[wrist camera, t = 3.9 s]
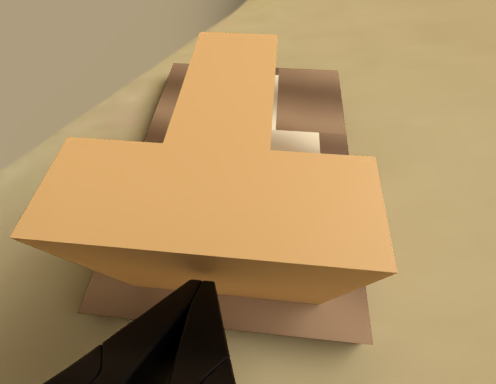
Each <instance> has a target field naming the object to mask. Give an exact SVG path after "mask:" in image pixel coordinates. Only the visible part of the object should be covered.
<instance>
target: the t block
mask: <svg viewBox="0 0 496 384" xmlns="http://www.w3.org/2000/svg"><path fill="white" fill-rule="evenodd" d="M277 39H278V35H270V34H243V33H216V32H200V34H199V37H198V40H197V43H196V46H195V49H194V52H193V55H192V58H191V61H190V64H189V67H188V70H187V73H186V76H185V79H184V82H183V85H182V88H181V91H180V94H179V97H178V100H177V103H176V106H175V109H174V112H173V115H172V118H171V121H170V123H169V126H168V129H167V132H166V135H165V138H164V141H163V143H152V142H136V141H121V140H105V139H90V138H74V137H68V138H67V139H66V141H65V143H64V145H63V146H62V148H61V150H60V151H59V153H58V155H57V157H56V158H55V160H54V162H53V163H52V165H51V167H50V169H49V170H48V172H47V174H46V175H45V177H44V179H43V181H42V182H41V184H40V186H39V188H38V189H37V191H36V193H35V194H34V196H33V198H32V200H31V201H30V203H29V205H28V206H27V208H26V210H25V212H24V213H23V215H22V217H21V218H20V220H19V222H18V224H17V225H16V227H15V229H14V230H13V232H12V234H11V236H10V237H9V238H12V239H14V240H17V241H19V242H22V243H25V244H27V245H30V246H32V247H35V248H37V249H40V250H43V251H45V252H48V253H50V254H53V255H55V256H58V257H61V258H63V259H66V260H68V261H71V262H73V263H76V264H79V265H81V266H84V267H86V268H89V269H92V270H94V271H97V272H99V273H102V274H104V275H107V276H110V277H112V278H115V279H117V280H120V281H122V282H125V283H128V284H130V285H133V286H139V287H149V288H159V289H169V290H176V289H178V288H179V287H180V286H182V285H183V284H184V283H186V282H187V281H189V280H190V279H195V280H201V281H202V282H203V281H204V280H206V281H214V282H215V285H216V290H217V294H219V295H229V296H239V297H249V298H259V299H269V300H279V301H289V302H299V303H309V304H319V305H320V304H322V303H325V302H327V301H330V300H332V299H335V298H337V297H339V296H342V295H344V294H347V293H349V292H352V291H354V290H357V289H359V288H362V287H364V286H366V285H369V284H371V283H374V282H376V281H379V280H381V279H384V278H386V277H389V276H391V275H393V274H396V273H397V267H396V262H395V257H394V252H393V247H392V241H391V236H390V231H389V226H388V221H387V215H386V210H385V205H384V200H383V194H382V189H381V184H380V179H379V174H378V168H377V163H376V158H375V157H368V156H353V155H338V154H322V153H307V152H291V151H276V150H270V148H271V133H272V117H273V101H274V86H275V70H276V54H277Z"/></svg>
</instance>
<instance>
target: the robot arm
mask: <svg viewBox="0 0 496 384" xmlns="http://www.w3.org/2000/svg"><path fill="white" fill-rule="evenodd" d="M43 384H236V382H235V378H234V374H233V369H232V364H231V360H230V355H229V350H228V345H227V340H226V335H225V330H224V325H223V320H222V315H221V310H220V305H219V300H218V295H217V290H216V285H215V282H214V281H206V280H204V281H203V282H202V281H201V280H195V279H190V280H189V281H187V282H186V283H184V284H183V285H182V286H180V287H179V288H178V289H176V290H175V291H173V292H172V293H171V294H169V295H168V296H167V297H165V298H164V299H162V300H161V301H160V302H158V303H157V304H155V305H154V306H153V307H151V308H150V309H149V310H147V311H146V312H144V313H143V314H142V315H140V316H139V317H138V318H136V319H135V320H133V321H132V322H131V323H129V324H128V325H127V326H125V327H124V328H122V329H121V330H120V331H118V332H117V333H115V334H114V335H113V336H111V337H110V338H109V339H107V340H106V341H104V342H103V343H102V345H99V346H97V347H96V348H95V349H93V350H92V351H90V352H89V353H88V354H86V355H85V356H83V357H82V358H81V359H79V360H78V361H76V362H75V363H73V364H72V365H71V366H69V367H68V368H66V369H65V370H63V371H62V372H60V373H59V374H57V375H56V376H54V377H52V378H51V379H49V380H48V381H46V382H45V383H43Z"/></svg>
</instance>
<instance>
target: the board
mask: <svg viewBox="0 0 496 384" xmlns="http://www.w3.org/2000/svg"><path fill="white" fill-rule="evenodd" d="M188 67H189V64H180V63H174V64H173V66H172V69H171V72H170V74H169V77H168V79H167V82H166V85H165V87H164V90H163V92H162V95H161V98H160V100H159V103H158V105H157V108H156V111H155V113H154V116H153V118H152V121H151V123H150V126H149V129H148V131H147V134H146V136H145V139H144V142H152V143H163V141H164V138H165V135H166V132H167V129H168V126H169V123H170V121H171V118H172V115H173V112H174V109H175V106H176V103H177V100H178V97H179V94H180V91H181V88H182V85H183V82H184V79H185V76H186V73H187V70H188ZM270 150H276V151H291V152H307V153H322V154H338V155H349V153H348V145H347V137H346V130H345V122H344V114H343V106H342V98H341V90H340V83H339V75H338V71H335V70H313V69H290V68H276V70H275V86H274V101H273V117H272V133H271V148H270ZM173 291H175V290H169V289H159V288H149V287H139V286H133V285H130V284H128V283H125V282H122V281H120V280H117V279H115V278H112V277H110V276H107V275H104V274H102V273H99V272H97V271H94V272H93V274H92V277H91V279H90V282H89V285H88V287H87V290H86V292H85V295H84V298H83V300H82V303H81V305H80V308H79V311H78V313H82V314H91V315H100V316H109V317H119V318H128V319H136V318H138V317H139V316H140V315H142V314H143V313H144V312H146V311H147V310H149V309H150V308H151V307H153V306H154V305H155V304H157V303H158V302H160V301H161V300H162V299H164V298H165V297H167V296H168V295H169V294H171V293H172V292H173ZM217 295H218V300H219V305H220V310H221V315H222V320H223V325H224V329H230V330H239V331H248V332H258V333H267V334H276V335H285V336H295V337H304V338H313V339H322V340H332V341H341V342H350V343H359V344H369V345H373V341H372V333H371V325H370V317H369V309H368V302H367V294H366V286H364V287H362V288H359V289H357V290H354V291H352V292H349V293H347V294H344V295H342V296H339V297H337V298H335V299H332V300H330V301H327V302H325V303H322V304H320V305H319V304H309V303H299V302H289V301H279V300H269V299H259V298H249V297H239V296H229V295H219V294H217Z"/></svg>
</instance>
